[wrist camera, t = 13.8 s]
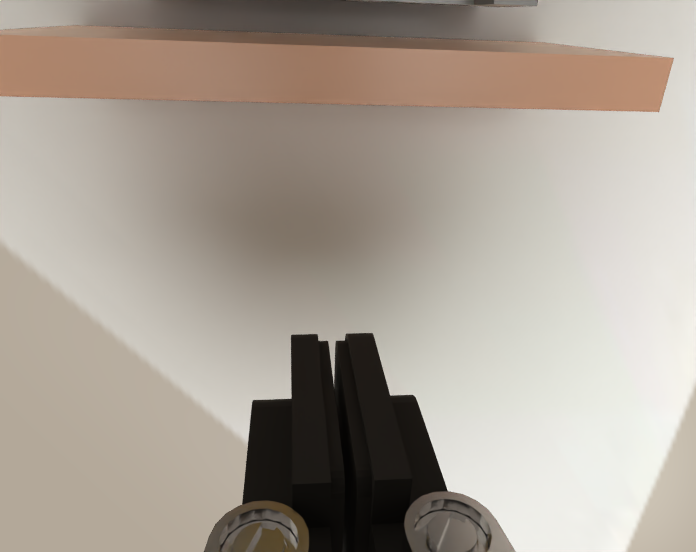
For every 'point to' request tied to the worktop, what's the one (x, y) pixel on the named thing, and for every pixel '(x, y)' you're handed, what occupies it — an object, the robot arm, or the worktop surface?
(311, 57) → the tray
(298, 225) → the worktop surface
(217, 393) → the worktop surface
